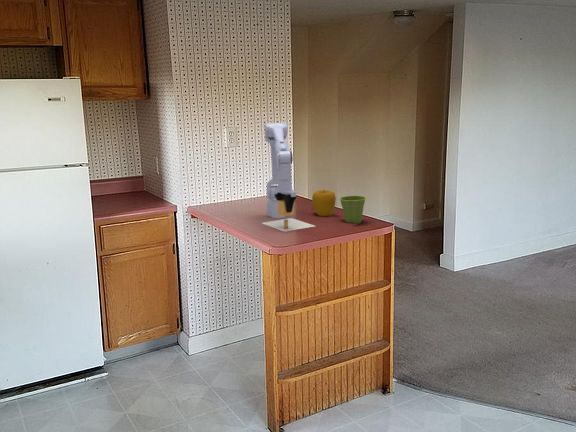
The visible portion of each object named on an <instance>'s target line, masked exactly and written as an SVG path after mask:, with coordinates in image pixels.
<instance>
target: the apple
mask: <svg viewBox="0 0 576 432" xmlns="http://www.w3.org/2000/svg"><path fill="white" fill-rule="evenodd" d="M336 198H337V197H336V193H335V192H333V191H332V190H328V189H327V190H325V189H321V190H320V189H319V190H316V191H315V192H314V193H313V194H312V197H311V202H312V207H313V210H314V211H315V213H316V215H317V216H319V217H332V216H333V214H334V211H335V206H336V200H337V199H336Z"/></svg>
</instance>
